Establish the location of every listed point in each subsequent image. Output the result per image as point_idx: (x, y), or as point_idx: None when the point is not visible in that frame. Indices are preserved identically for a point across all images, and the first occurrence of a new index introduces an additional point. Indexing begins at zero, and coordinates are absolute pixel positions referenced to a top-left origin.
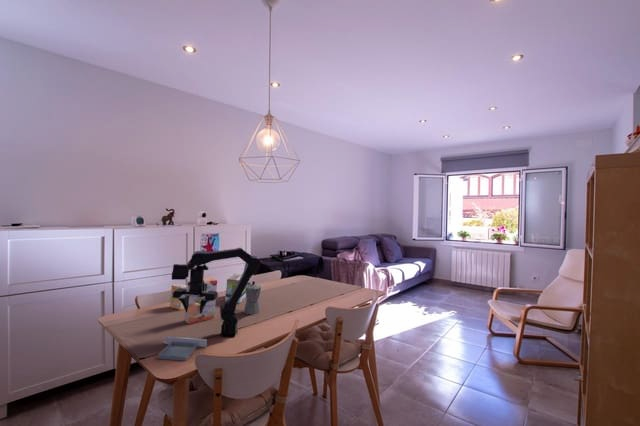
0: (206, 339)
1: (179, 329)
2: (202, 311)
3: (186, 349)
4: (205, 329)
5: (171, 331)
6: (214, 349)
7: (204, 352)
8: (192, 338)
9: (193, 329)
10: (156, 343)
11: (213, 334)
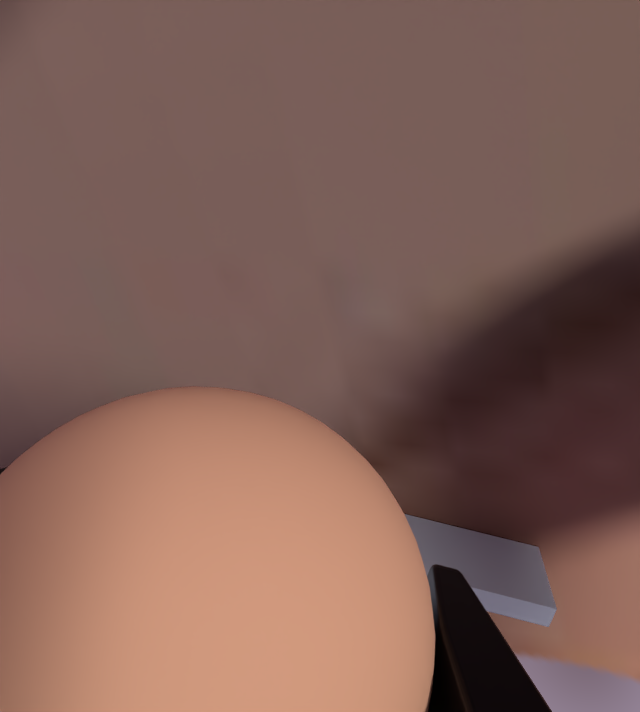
0: (550, 611)
1: (77, 38)
2: (477, 621)
3: None
4: (480, 25)
5: (4, 117)
6: (632, 618)
7: (526, 653)
8: None
9: (282, 32)
10: (8, 433)
11: (625, 234)
